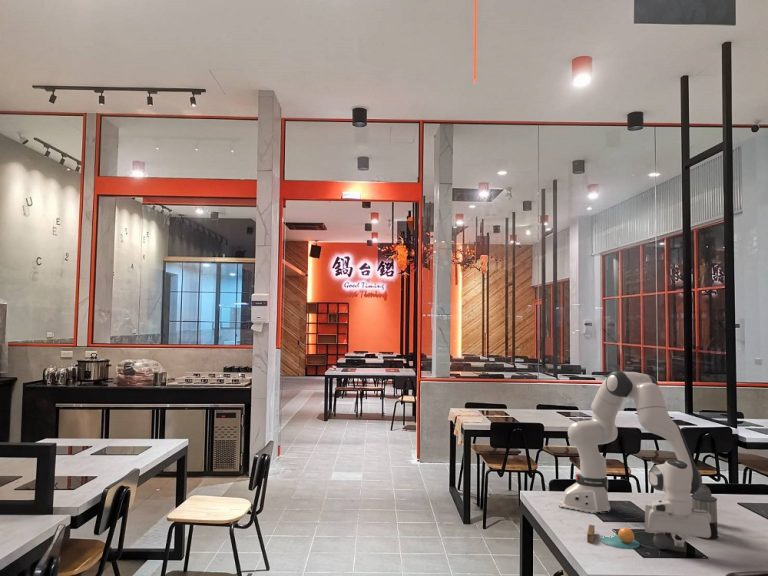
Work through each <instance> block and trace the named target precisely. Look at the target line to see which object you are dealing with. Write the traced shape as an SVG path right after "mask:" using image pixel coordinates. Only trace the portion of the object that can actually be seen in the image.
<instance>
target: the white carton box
mask: <svg viewBox="0 0 768 576" xmlns="http://www.w3.org/2000/svg"><path fill="white" fill-rule="evenodd" d="M644 507H645V509H644V532H645V533H649V534H652V533H654V534H653V535H656V534H657V533H664V534H665V533H667V532H661V531H653V530H650V529H649V527H648V517H649V512H650V510H651V509H652V505H648V504H646V505H645V506H644Z"/></svg>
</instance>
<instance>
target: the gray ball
mask: <svg viewBox="0 0 768 576" xmlns="http://www.w3.org/2000/svg"><path fill="white" fill-rule="evenodd" d="M652 540H653V544H654V545H655V547H657V548H658V549H659V550H667V549H668V548H669V547H670V546H671V540H670V538H669V536H668V535H667V534H664V533H657V534H654V536H653V539H652Z"/></svg>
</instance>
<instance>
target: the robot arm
mask: <svg viewBox="0 0 768 576" xmlns="http://www.w3.org/2000/svg"><path fill="white" fill-rule="evenodd" d="M625 398H626V399H633V401H634V403H635V408H636V413H637V418H638V421H639V424H640V426H641V427H642V428H643V429H644V430H646V431H648V433H651V434H653V435H656V436H659V437H662V438H663V439H665V440H666V441H668V442H669V443H670V445H671V446H672V448H673V451H674V455H675V456H676V459H673V458H671V459H667V460H666V461H664V463H661V464H656V465H655V464H654V465H653V466H651V467H650V469H649V470H648V482H649V484H650V486H652V488H653V489H654V490H656V491H659V492H664V498H661V499H655V500H652V501H651V505H650V506H652V509H651V510H650V512H649V517H648V527H649V529H650V530H653V531H661V532H666V533H668V534H669V533H670V536H671V538H672V540H673V541H674V546H675V547H678V548H679V547H680V548H684V547H685V542H686V541H687V539H688V536H689V537H691V536H692V537H696V536H697V538H699V537H704V538H709V537H710V536H711V529H710V524H709V523H710V522H711V514H710V513H709V512H707V511H706V510H699V509H693V508H692V497H691V495H692V493H695V492H696V491H698V490H699V488H700V487H701V485H702V484H703V478H702V475H701V473H700V471H699V469H698V467H697V465H696V463H695V461H694V459H693V455H692V453H691V451H690V448H689V446H688V444H687V441H686V438H685V436H684V432H682V429H681V428H680V425H678V424H677V423H676V422H675V421H673V419H672V418H671V416H670V414H669V412H668V409H667V404H666V400H665V398H664V395H663V392H662V390H661V388H660V385H659V383H658V380H657V379H656V377H654V376H652V375H650V374H647V373H642V372H641V373H640V372H636V371H622V370H617V371H616V370H615V371H612V372H610V373H609V374H608V375H607V376H606V377H605V379H604V380H603V382H602V383H601V384H600V386H599V388H598V390H597V392H596V395H595V396H594V399H593V400H592V403H591V406H590V407H591V411H592V412H593V417H592V418H591V419H589V420H586V419H585V420H578V421H576V422H573V423H571V424H570V425H568V428H567V437H568V439H569V441H570V442H571V443H572V444H573V445H574V446H575V447H576V449H577V452H578V456H579V464H580V465H579V467H580V470H579V471H580V472H579V473H578V472H577V473H576V474H575V475H574V476H575V482H574V483H573V484H572V485H570V486H568V487H566V488H565V490H564V492H563V496H562V498H560V499H558V502H557V505H558V504H559V506H561V507H565V508H564V509H566V508H569V509H568V510H571V509H575V510H574V511H577V510H580V511H579V512H582V511H585V512H584V513H587V512H592V513H591V514H593V513H595V514H597V513H596V512H600V513H602V512H601V511H608V512H610V511H611V510H610V509H612V508H611V506H610V501H609V495H608V489H609V480H608V477H607V460H606V458H605V456H604V455H602V454H601V453H600V451H599V445H605V444H606V445H607V444H609V443H612V442H614V441H616V439H617V437H618V435H619V434H618V433H619V432H618V431H619V430H618V427H617V425H616V423H615V421H616V417H617V415H618V413H619V411H620V408H621V406H622V404H623V402H624V399H625ZM559 506H558V507H559ZM561 507H560V508H561ZM609 510H610V511H609ZM700 512H701V513H700ZM677 534H678V535H682V539H681V540H678V539H676V535H677Z"/></svg>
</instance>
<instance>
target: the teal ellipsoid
mask: <svg viewBox="0 0 768 576" xmlns="http://www.w3.org/2000/svg"><path fill="white" fill-rule="evenodd" d="M612 535H613V536H614V535H615V536H614V537H612V538H611V536H610V538H609V537H605V536H604V535H601V536H600V537H601V538H600V537H599V539H600V540H599V541H600V542H601V543H602V544H604V545H606V546H609V547H612V548H616V549H625V550H626V549H627V550H631V549H633V550H634V549H637V547H638V548H640V546H641V545H640V542H639V541H638V540H636V539H635V538H634V539H633V541H632V542H631V543H624V542H622V541H621V540H620V539H619V536H618V534H612ZM603 536H604V538H602V537H603Z"/></svg>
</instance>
